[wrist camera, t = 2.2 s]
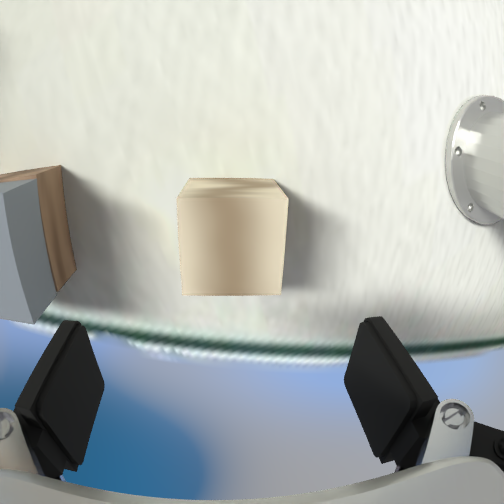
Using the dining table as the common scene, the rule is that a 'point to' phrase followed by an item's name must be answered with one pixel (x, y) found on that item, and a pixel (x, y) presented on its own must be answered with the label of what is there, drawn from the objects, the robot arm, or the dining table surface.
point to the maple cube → (231, 236)
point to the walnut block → (51, 219)
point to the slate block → (23, 254)
